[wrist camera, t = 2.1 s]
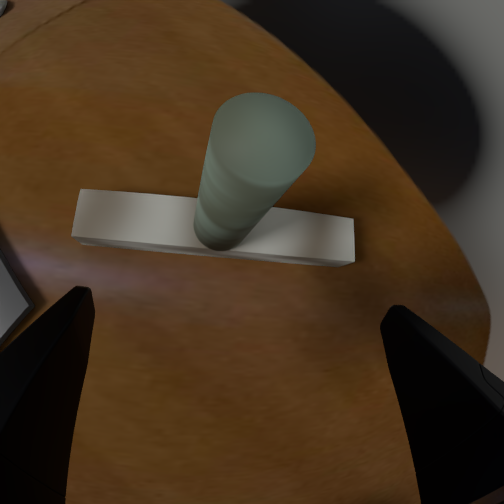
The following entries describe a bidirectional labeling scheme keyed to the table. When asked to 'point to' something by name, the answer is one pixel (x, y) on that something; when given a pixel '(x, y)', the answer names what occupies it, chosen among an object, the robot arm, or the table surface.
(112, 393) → the table surface
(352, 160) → the table surface
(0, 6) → the stone tool
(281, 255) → the bar
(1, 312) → the fulcrum stand
